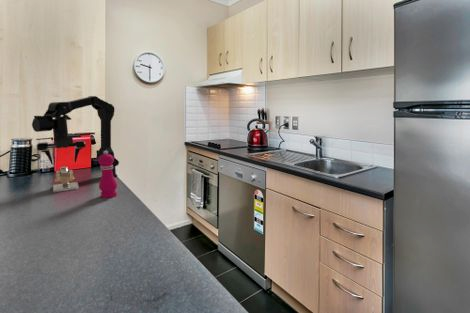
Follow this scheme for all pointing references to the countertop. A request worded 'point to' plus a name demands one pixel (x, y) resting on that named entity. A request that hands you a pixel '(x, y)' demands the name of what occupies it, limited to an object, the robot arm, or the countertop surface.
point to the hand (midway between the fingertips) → (63, 163)
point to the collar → (64, 175)
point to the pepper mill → (107, 176)
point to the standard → (65, 183)
